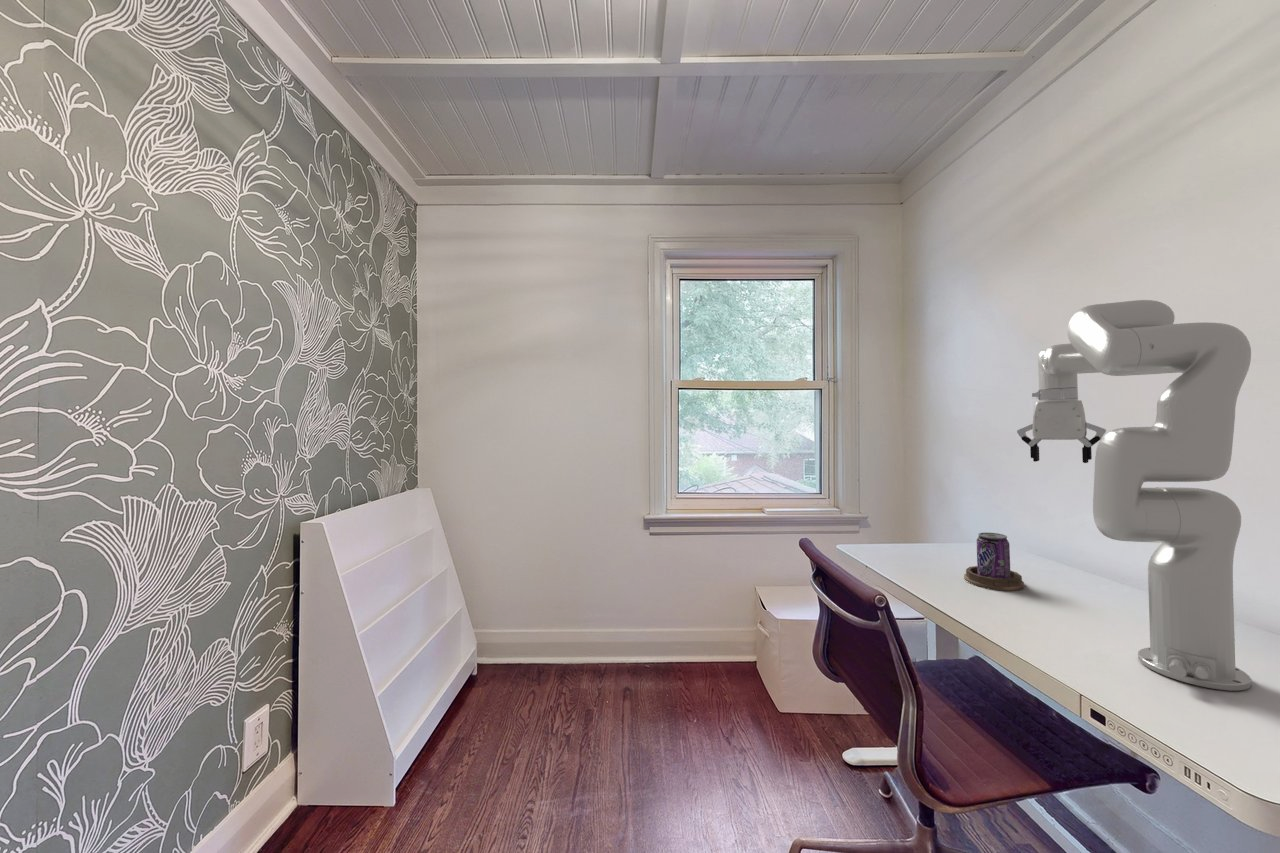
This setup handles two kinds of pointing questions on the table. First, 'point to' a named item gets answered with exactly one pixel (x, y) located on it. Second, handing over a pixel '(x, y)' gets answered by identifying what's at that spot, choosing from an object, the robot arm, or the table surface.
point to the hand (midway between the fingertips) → (1060, 461)
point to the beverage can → (993, 556)
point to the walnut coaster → (994, 580)
